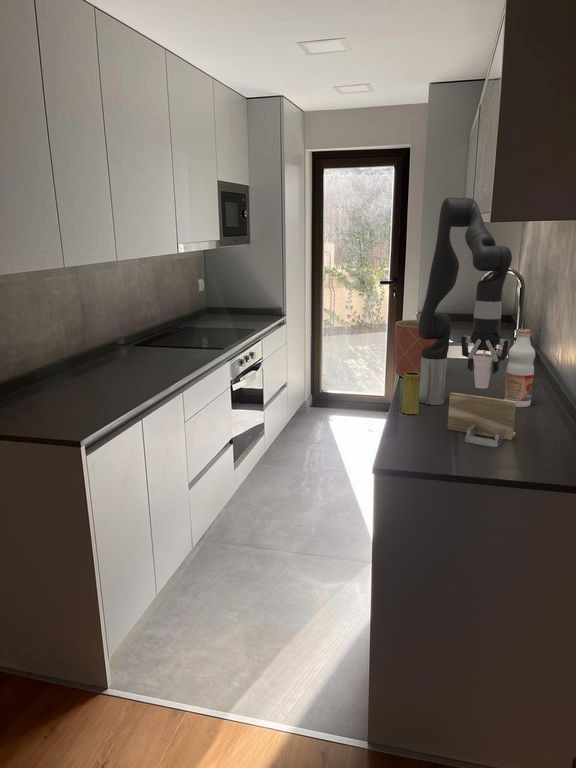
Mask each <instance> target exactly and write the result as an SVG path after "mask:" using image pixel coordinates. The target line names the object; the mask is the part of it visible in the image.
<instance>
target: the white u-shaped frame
mask: <svg viewBox="0 0 576 768" xmlns="http://www.w3.org/2000/svg"><path fill="white" fill-rule="evenodd" d="M476 431H477V424H476V423H473V424H472V425H471V426H470V427H469V428H468V429H467V432H465V433H466V434H465V436H464V437H465V438H464V442H465V443H470V444H476V445H481V446H486V447H490V448H498V447H499V446H500V445H501V443H502V442H503V441H504V440H505V439H504V434H505V428H501V429H500V430H499V431H498V432H497V434H496V435H495V437H494V439H493V438H486V437H482V436H476V435H477V434H476Z"/></svg>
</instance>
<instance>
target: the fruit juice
mask: <svg viewBox="0 0 576 768" xmlns="http://www.w3.org/2000/svg"><path fill="white" fill-rule="evenodd" d="M516 335H517V336H516V340H515V342H514V344H513V345H512V346H511V347H509V350H508V360H509V361H508V362H507V366H506V373H505V387H504V394H503V395H504V397H503V400H509V401H516V408H528V407H530V406H531V403H532V395H533V384H534V375H535V366H534V360H535V358H536V350H535V348H534V347H533V346H532V342H531V335H532V330H531V329H530V328H518V329H516Z"/></svg>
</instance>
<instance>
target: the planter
mask: <svg viewBox="0 0 576 768" xmlns="http://www.w3.org/2000/svg"><path fill="white" fill-rule="evenodd" d="M419 320H420V319H406V320H405V319H404V320H397V321H396V322H395V323H394V326H395V328H394V347H395V349H394V351H395V352H394V353H395V354H394V356H395V357H394V358H395V359H394V360H395V361H394V363H395V365H394V366H395V374H397V376H399V377H400V376H401V375H402V376H404V374H405V373H406V372H417V373H419V374H421V355H422V350H423V349H424V348H426V347H428V346H430V345H432V344H433V343H435V341H436V339H422V338H421V337H420V336H419V332H418V326H419Z"/></svg>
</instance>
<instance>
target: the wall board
mask: <svg viewBox="0 0 576 768" xmlns="http://www.w3.org/2000/svg"><path fill="white" fill-rule="evenodd" d="M448 401H449V402H448V403H449V404H448V417H447V427H446V429H447V430H450V431H455V432H462V433H467V429H468V428H469V427H470V426H471V425H472V424H473V423H476V424H477V431H476V435H478V434H479V436H485V437H492V438H495V435H496V434H497V432H498V431H499V430H500V429H501V428H505V434H504V440H507V441H508V440H509V441H513V439H514V437H516V432H515V431H514V430H515V419H516V418H515V417H516V410H517V409H516V408H517V407H516V401H509V400H504V399H501V398H494V397H487V396H481V395H472V394H466V393H460V392H459V393H458V392H450V393H449V400H448Z"/></svg>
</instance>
